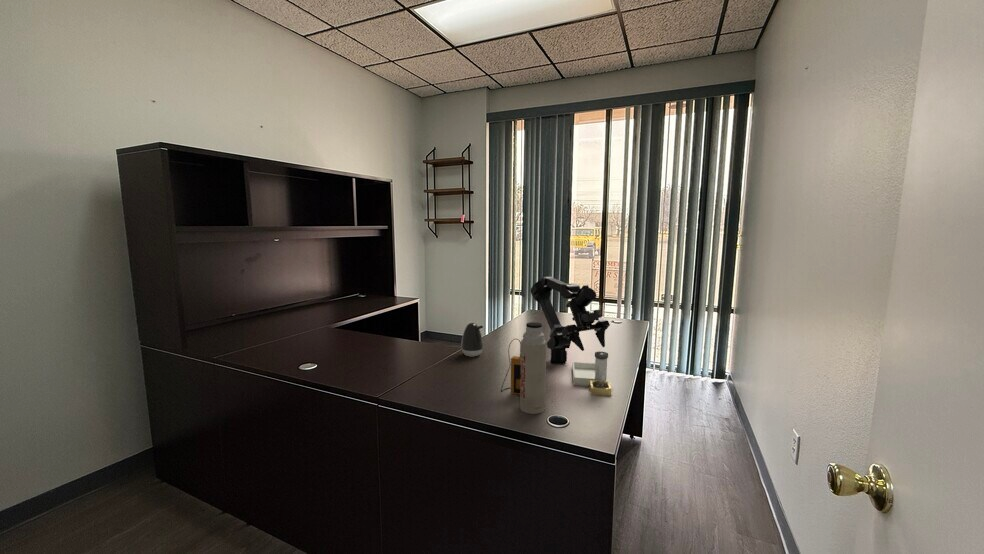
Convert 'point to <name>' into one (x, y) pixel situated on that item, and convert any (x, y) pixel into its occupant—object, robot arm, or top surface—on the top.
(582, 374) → the tray
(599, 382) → the strut
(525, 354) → the thermos bottle
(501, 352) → the top surface
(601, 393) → the socket collar
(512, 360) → the multimeter
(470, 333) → the pump dispenser
